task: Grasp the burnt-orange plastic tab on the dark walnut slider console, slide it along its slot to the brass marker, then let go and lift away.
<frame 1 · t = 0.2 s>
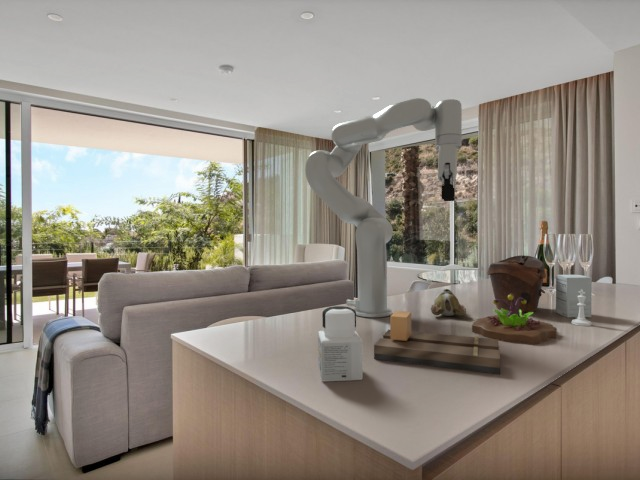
hand: (448, 200, 120), 37 cm above the kitchen island, fingers open, 9 cm apart
supplement box: (572, 315, 126), on the kitchen island
chess piece: (581, 324, 115), on the kitchen island
brown flower pot: (515, 309, 136), on the kitchen island
fader tab: (401, 329, 91), point 5 cm above the kitchen island, slide at -8.0 cm
plant: (512, 334, 106), on the kitchen island
ceramic sculpture: (447, 315, 128), on the kitchen island
slider console: (437, 355, 88), on the kitchen island
container: (339, 374, 78), on the kitchen island
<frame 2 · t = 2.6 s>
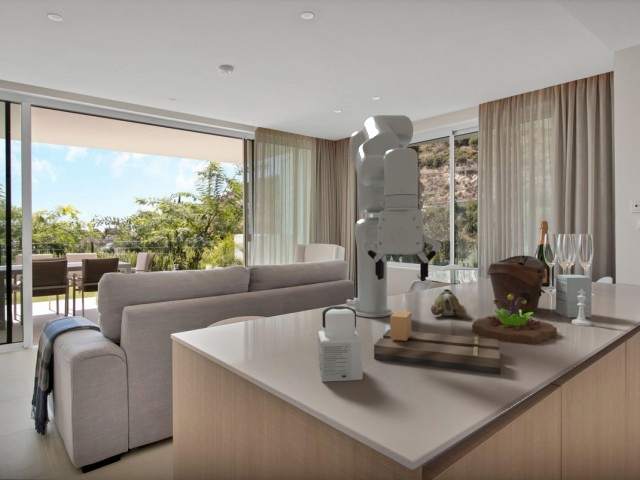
hand: (401, 279, 90), 17 cm above the kitchen island, fingers open, 9 cm apart
nothing on the kitchen island moved.
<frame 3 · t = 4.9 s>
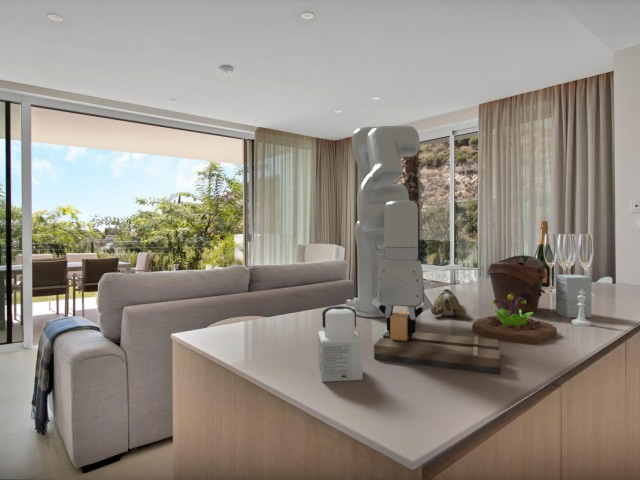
hand: (401, 334, 91), 4 cm above the kitchen island, fingers closed on fader tab, 3 cm apart
fader tab: (401, 329, 91), point 5 cm above the kitchen island, slide at -8.0 cm, touching gripper
everything else where it was.
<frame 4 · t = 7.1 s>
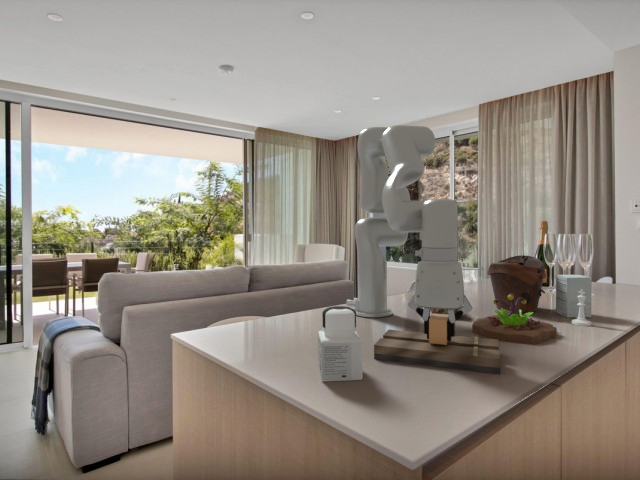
hand: (439, 337, 88), 4 cm above the kitchen island, fingers closed on fader tab, 3 cm apart
fader tab: (439, 333, 88), point 5 cm above the kitchen island, slide at 0.4 cm, touching gripper
everything else where it was.
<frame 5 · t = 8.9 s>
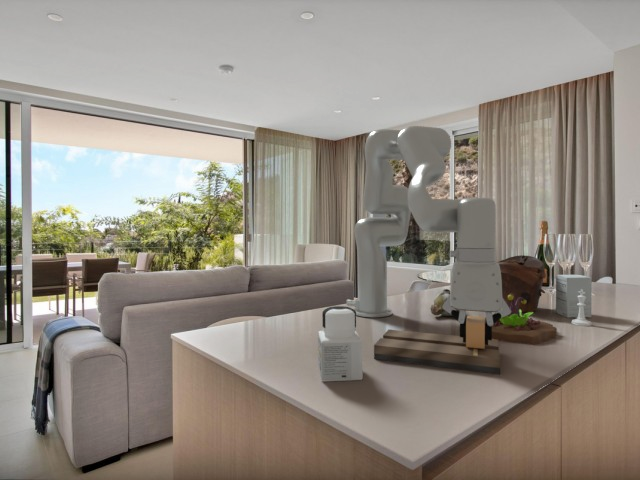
hand: (475, 341, 85), 4 cm above the kitchen island, fingers closed on fader tab, 3 cm apart
fader tab: (475, 336, 85), point 5 cm above the kitchen island, slide at 7.9 cm, touching gripper
everything else where it was.
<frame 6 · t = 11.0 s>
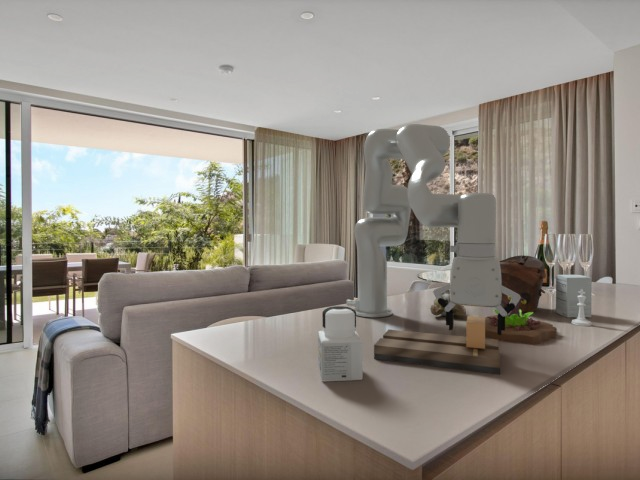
hand: (474, 331, 85), 6 cm above the kitchen island, fingers open, 9 cm apart
fader tab: (475, 336, 85), point 5 cm above the kitchen island, slide at 8.0 cm
everything else where it was.
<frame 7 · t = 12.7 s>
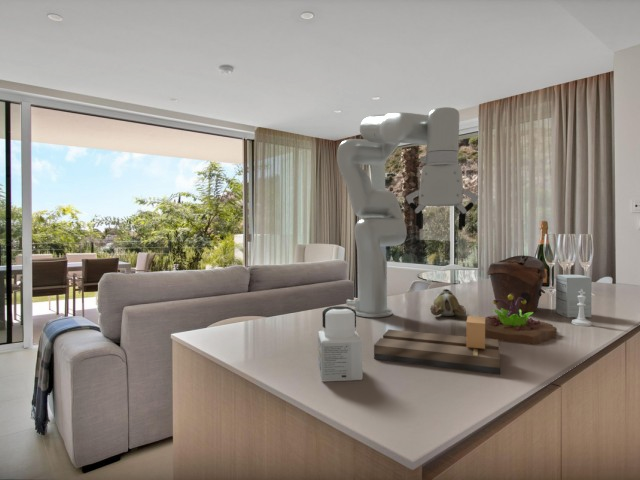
hand: (440, 229, 99), 28 cm above the kitchen island, fingers open, 9 cm apart
nothing on the kitchen island moved.
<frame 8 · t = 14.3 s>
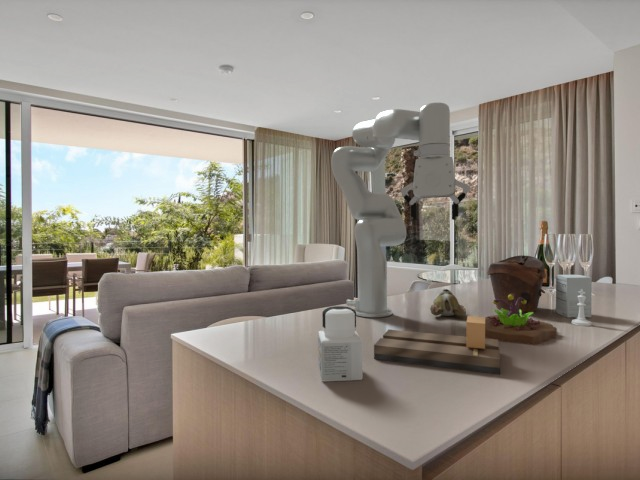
hand: (434, 220, 103), 30 cm above the kitchen island, fingers open, 9 cm apart
nothing on the kitchen island moved.
at the end: fader tab slide at 8.0 cm; the gripper is holding nothing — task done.
